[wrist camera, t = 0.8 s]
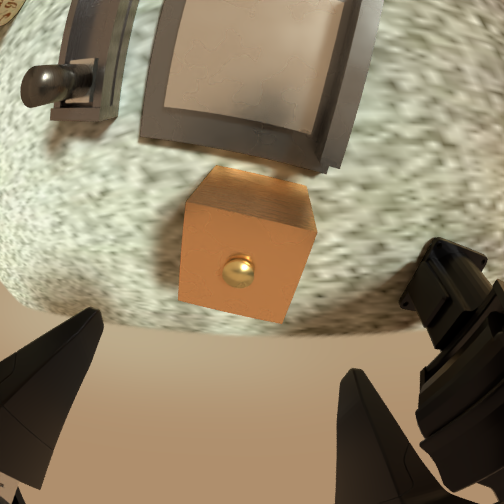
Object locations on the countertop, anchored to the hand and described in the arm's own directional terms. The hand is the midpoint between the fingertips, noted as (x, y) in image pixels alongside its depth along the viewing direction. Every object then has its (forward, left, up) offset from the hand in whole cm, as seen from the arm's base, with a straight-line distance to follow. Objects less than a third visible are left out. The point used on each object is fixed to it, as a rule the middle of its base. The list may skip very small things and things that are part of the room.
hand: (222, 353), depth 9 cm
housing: (0, 0, -11) cm, 11 cm away
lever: (+12, -7, -10) cm, 17 cm away
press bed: (+2, -10, -11) cm, 15 cm away
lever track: (+12, -11, -11) cm, 19 cm away
